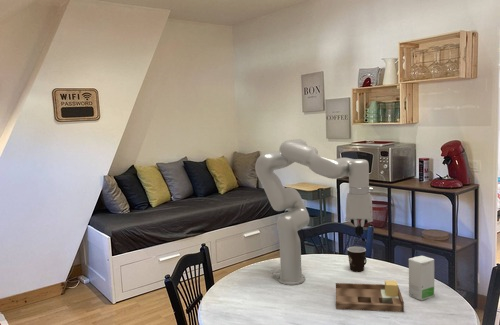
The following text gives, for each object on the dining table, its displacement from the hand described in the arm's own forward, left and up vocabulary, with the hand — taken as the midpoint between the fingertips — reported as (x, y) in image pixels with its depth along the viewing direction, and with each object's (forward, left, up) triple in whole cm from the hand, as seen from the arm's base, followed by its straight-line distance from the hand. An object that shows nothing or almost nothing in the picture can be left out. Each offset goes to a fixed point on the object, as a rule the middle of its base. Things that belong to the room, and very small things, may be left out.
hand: (359, 235), depth 169 cm
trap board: (+3, -3, -26) cm, 27 cm away
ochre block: (+12, 0, -24) cm, 27 cm away
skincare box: (+24, +4, -26) cm, 36 cm away
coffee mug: (0, +29, -26) cm, 39 cm away
